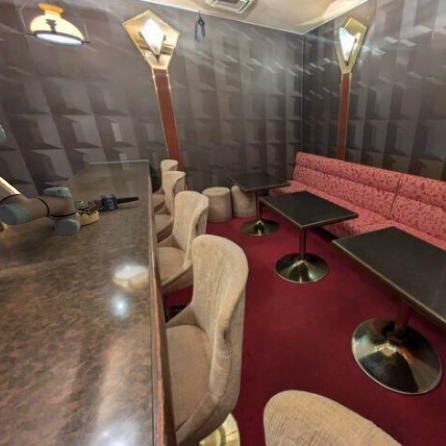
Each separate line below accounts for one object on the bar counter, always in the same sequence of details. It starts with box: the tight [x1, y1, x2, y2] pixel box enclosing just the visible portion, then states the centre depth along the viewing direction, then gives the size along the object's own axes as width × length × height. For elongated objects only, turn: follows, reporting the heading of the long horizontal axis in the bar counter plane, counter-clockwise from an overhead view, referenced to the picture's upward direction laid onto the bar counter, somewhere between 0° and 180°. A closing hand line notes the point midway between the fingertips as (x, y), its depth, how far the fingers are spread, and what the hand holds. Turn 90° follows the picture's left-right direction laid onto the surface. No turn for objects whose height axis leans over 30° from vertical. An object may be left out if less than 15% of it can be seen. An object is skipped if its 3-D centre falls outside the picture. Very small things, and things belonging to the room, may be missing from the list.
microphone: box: [89, 193, 140, 212], centre depth 151 cm, size 8×8×25 cm
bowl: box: [80, 210, 101, 226], centre depth 129 cm, size 17×17×4 cm
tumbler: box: [73, 199, 88, 218], centre depth 128 cm, size 8×8×10 cm
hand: (72, 205), depth 126 cm, fingers open, 13 cm apart
